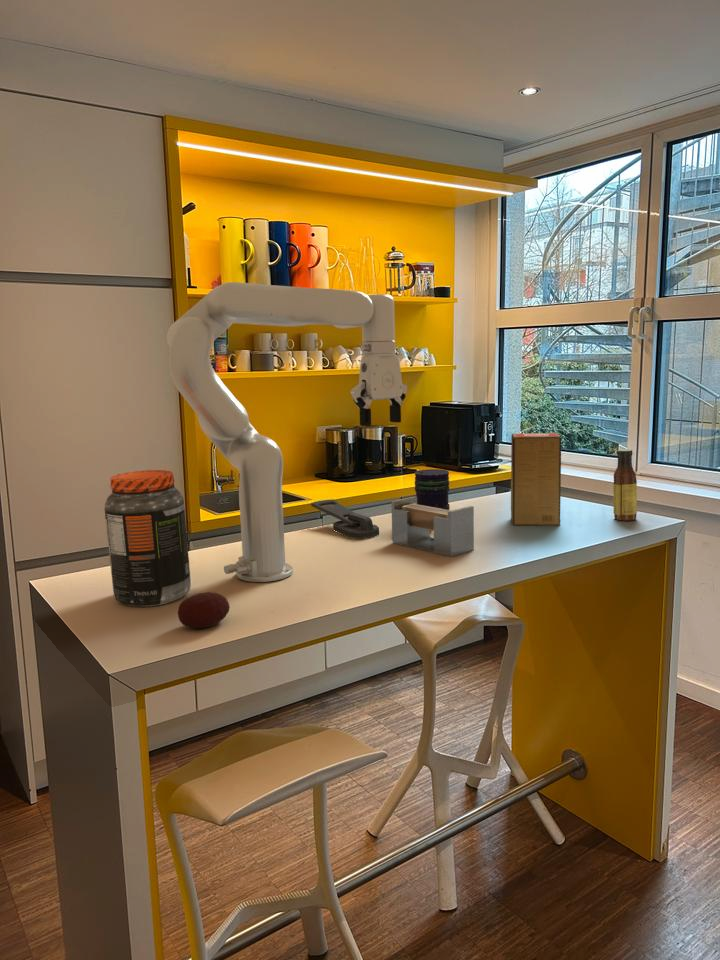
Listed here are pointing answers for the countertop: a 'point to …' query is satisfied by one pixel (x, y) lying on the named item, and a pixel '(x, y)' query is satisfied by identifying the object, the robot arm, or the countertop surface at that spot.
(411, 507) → the brown rectangular block
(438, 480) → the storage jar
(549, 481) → the food packaging
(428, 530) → the grey cradle stand
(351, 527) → the zipper pull
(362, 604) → the countertop surface
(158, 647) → the countertop surface
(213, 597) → the potato
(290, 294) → the robot arm
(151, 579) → the supplement tub
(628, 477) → the sauce bottle
